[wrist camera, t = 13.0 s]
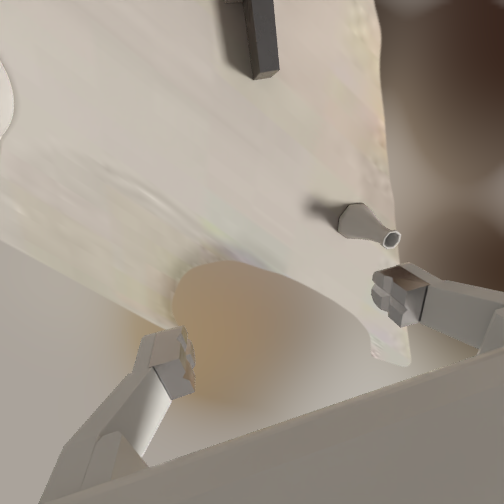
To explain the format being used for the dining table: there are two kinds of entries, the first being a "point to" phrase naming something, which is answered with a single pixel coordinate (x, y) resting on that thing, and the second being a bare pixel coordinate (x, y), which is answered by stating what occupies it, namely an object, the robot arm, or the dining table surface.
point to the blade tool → (261, 37)
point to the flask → (366, 226)
